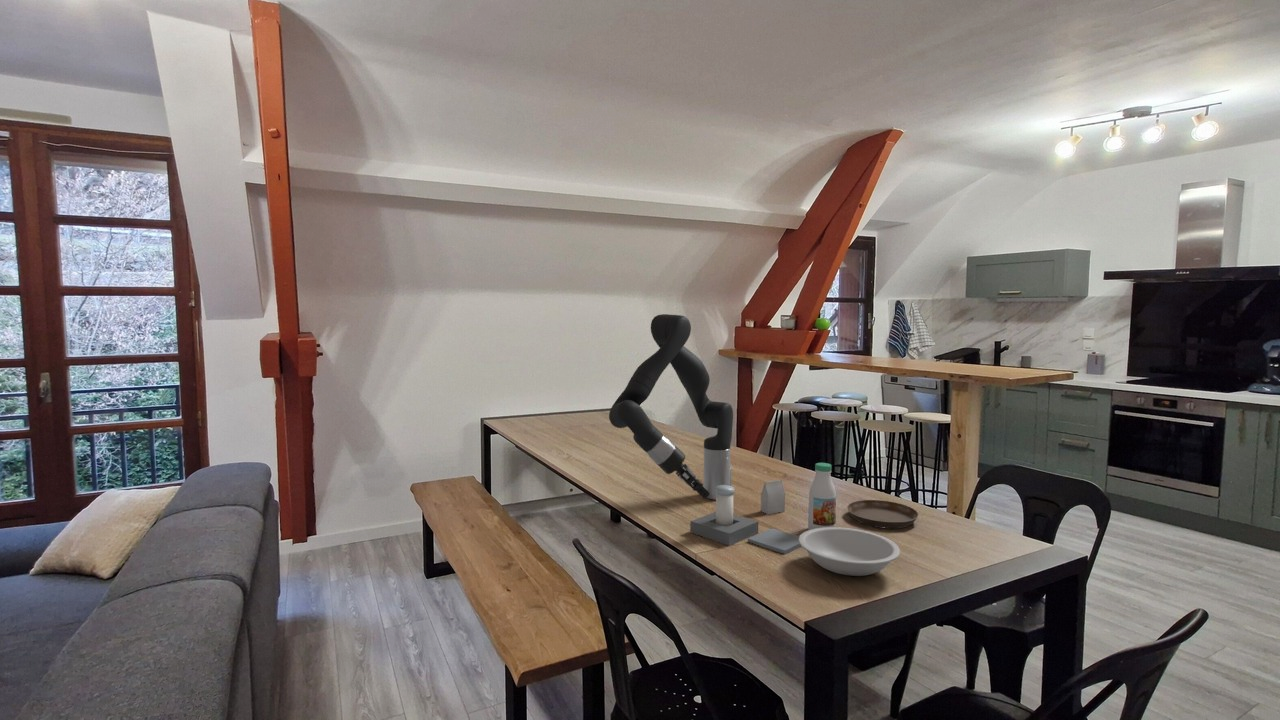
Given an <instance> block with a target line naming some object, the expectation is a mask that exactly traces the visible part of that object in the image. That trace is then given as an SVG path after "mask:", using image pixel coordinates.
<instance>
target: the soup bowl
mask: <svg viewBox="0 0 1280 720" xmlns="http://www.w3.org/2000/svg"><path fill="white" fill-rule="evenodd" d="M799 536H800V537H799V544H800V545H801V546H800V547H801V548H803V550H804V551H806V552H807V554H808V555H809V556H810V558H811V559H812V560H813V562H815V563H816V564H818V565H819V566H820V567H822V568H824V569H825V570H828V571H830V572H832V573H835V574H839V575H843V576H852V577H853V576H854V577H861V576H862V577H863V576H868V575H873V574H876V573H878V572H880V571H882V570H884V569H885V568H886V567H887V566H888V565H889V564H890V563H891V562H893V561H895V560H896V559H898V557H900V554H901V549H900V547H899V546H898V544H896V543H895V542H894V541H893V540H890V539H889V538H887V537H885V536H882V535H880V534H878V533H874V532H870V531H868V530H867V531H866V530H863V529H857V528H849V527H839V526H838V527H836V526H835V527H825V528H816V529H811V530H809V529H808V530H805V531H803V532H802V533H801V534H800V535H799Z"/></svg>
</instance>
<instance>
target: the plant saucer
mask: <svg viewBox="0 0 1280 720" xmlns="http://www.w3.org/2000/svg"><path fill="white" fill-rule="evenodd" d="M846 509H847V511H848V513H849V515H851V517H852V518H854V519H855V520H856V521H857V522H859V523H862V524H864V525H866V526H869V525H871V526H870V527H874V526H877V527H876V528H879V527H885V528H884V529H892V528H893V529H902V528H901V527H903V528H906V526H907V527H908V526H910V525H912V524H913V523H914V522H915V521H916V520H917V519H918V517H919V515H920V514H919V512H918V511H917V510H916V509H914V508H913V507H911V506H908V505H906V504H903V503H899V502H895V501H888V500H880V499H879V500H878V499H864V500H863V499H862V500H857V501H853V502H850V503H848V505H847V507H846Z"/></svg>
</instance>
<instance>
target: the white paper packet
mask: <svg viewBox="0 0 1280 720" xmlns="http://www.w3.org/2000/svg"><path fill="white" fill-rule="evenodd" d="M763 483H764V484H763V488H762V491H761V493H760V512H761V511H762V513H763V512H764V514H765V513H766V514H765V515H768V514H769V515H774V514H773V513H775V514H779V513H778V512H780V513H785V512H786V509H785V508H786V492H785V488H784V485H783V480H782V479H779V480H771V481H766V482H765V481H764V482H763ZM784 511H785V512H784Z"/></svg>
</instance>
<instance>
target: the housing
mask: <svg viewBox="0 0 1280 720" xmlns="http://www.w3.org/2000/svg"><path fill="white" fill-rule="evenodd" d="M689 526H690V527H689V529H690V530H689V531H690V532H691V533H690V532H689V533H690V534H692V533H694V534H693V535H695V534H696V536H698V535H700V536H699V537H701V536H703V537H702V538H704V537H705V538H704V539H707V538H708V539H707V540H710V539H711V540H710V541H713V540H714V542H716V543H719V542H720V543H719V544H722V545H725V546H729V547H730V546H733V545H735V544H736V543H739V542H741V541H743V539H744V540H745V539H748V538H751V537H753V536H755V535H757V534H759V521H758V520H755V519H752V518H748V517H745V516H741V515H737V514H734V513H733V524H732V525H730V526H727V527H726V526H722V525H719V524H716V511H714V512H712V513H709V514H707V515H703V516H701V517H698V518H695V519H693V520H690V525H689ZM750 536H751V537H750Z"/></svg>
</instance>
